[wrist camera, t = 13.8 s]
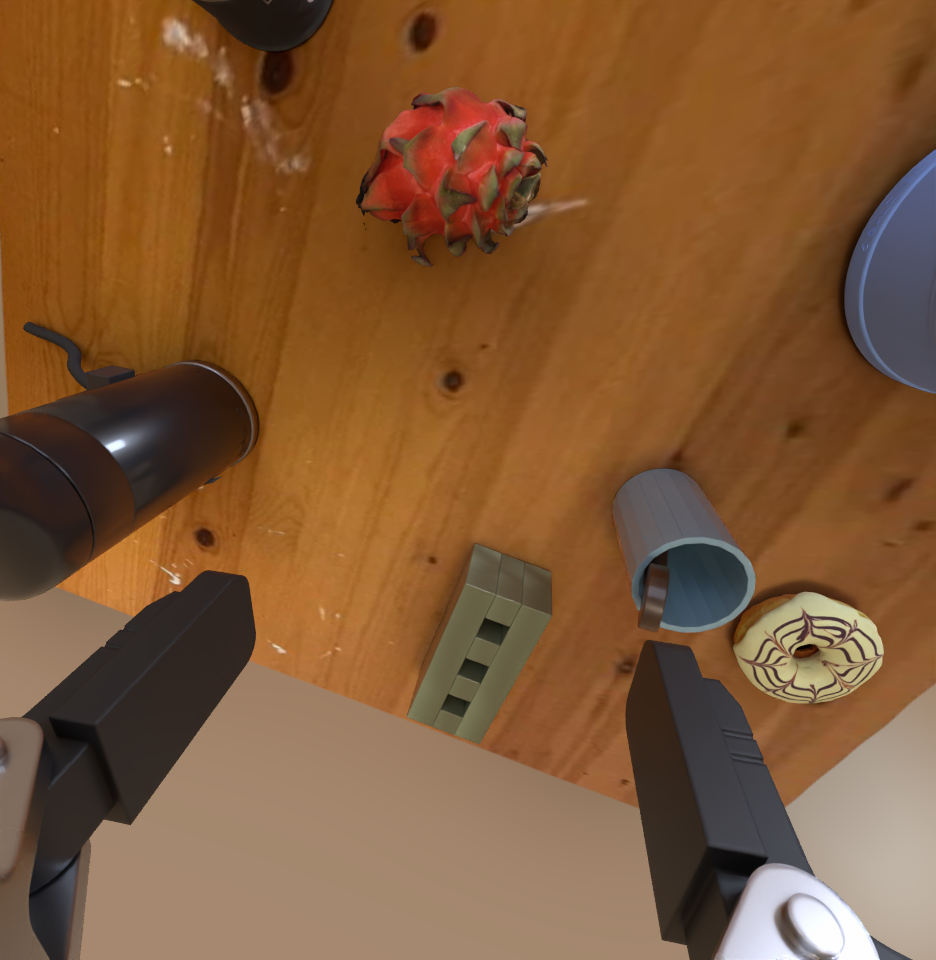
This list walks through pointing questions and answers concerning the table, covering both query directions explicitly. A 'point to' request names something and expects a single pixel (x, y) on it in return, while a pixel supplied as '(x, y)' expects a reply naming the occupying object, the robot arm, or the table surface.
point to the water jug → (898, 282)
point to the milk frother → (269, 20)
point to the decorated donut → (814, 670)
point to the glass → (682, 550)
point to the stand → (482, 643)
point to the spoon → (654, 593)
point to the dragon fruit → (453, 171)
